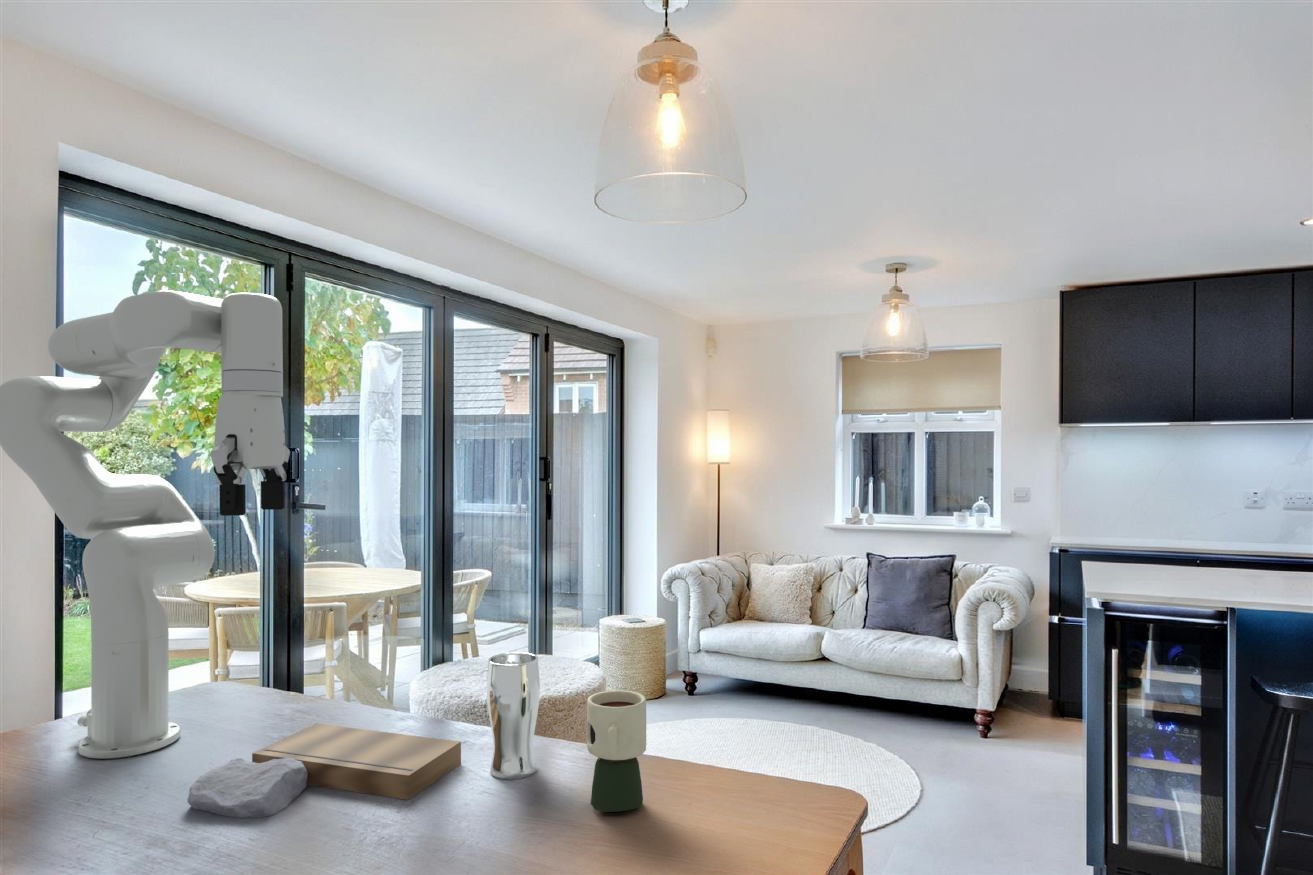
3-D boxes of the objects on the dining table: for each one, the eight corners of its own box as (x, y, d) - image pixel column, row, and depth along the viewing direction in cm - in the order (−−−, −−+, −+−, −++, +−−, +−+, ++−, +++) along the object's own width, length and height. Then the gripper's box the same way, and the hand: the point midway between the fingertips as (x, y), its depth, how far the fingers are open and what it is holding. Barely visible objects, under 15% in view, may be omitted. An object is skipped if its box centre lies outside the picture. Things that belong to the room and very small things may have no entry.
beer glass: (548, 764, 112) (548, 653, 113) (524, 784, 106) (524, 667, 106) (503, 757, 115) (503, 649, 115) (476, 777, 108) (476, 662, 108)
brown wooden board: (252, 775, 109) (252, 752, 109) (316, 744, 120) (316, 722, 120) (408, 799, 101) (408, 774, 101) (460, 763, 113) (460, 740, 113)
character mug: (593, 787, 105) (593, 684, 105) (649, 788, 105) (649, 685, 105) (580, 827, 94) (580, 712, 94) (643, 828, 94) (642, 713, 94)
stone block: (272, 835, 97) (314, 783, 106) (266, 798, 96) (309, 749, 105) (177, 834, 98) (227, 783, 107) (170, 798, 97) (221, 749, 107)
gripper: (260, 390, 121) (261, 507, 121) (185, 381, 104) (186, 518, 104) (310, 389, 121) (311, 507, 120) (243, 380, 103) (244, 517, 103)
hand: (253, 512), depth 112 cm, fingers open, 9 cm apart
